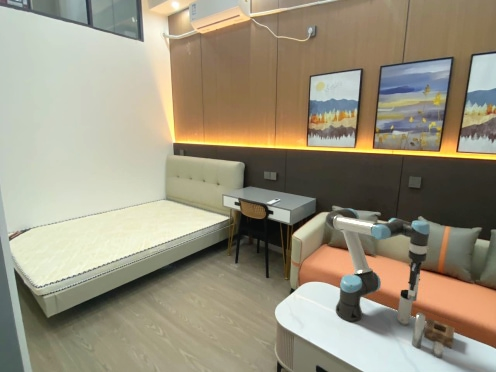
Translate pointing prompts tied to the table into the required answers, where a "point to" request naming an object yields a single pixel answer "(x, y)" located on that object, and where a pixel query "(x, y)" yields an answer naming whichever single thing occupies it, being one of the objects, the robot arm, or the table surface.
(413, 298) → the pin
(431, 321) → the hole block
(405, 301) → the travel mug
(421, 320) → the pin long
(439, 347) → the pin short
